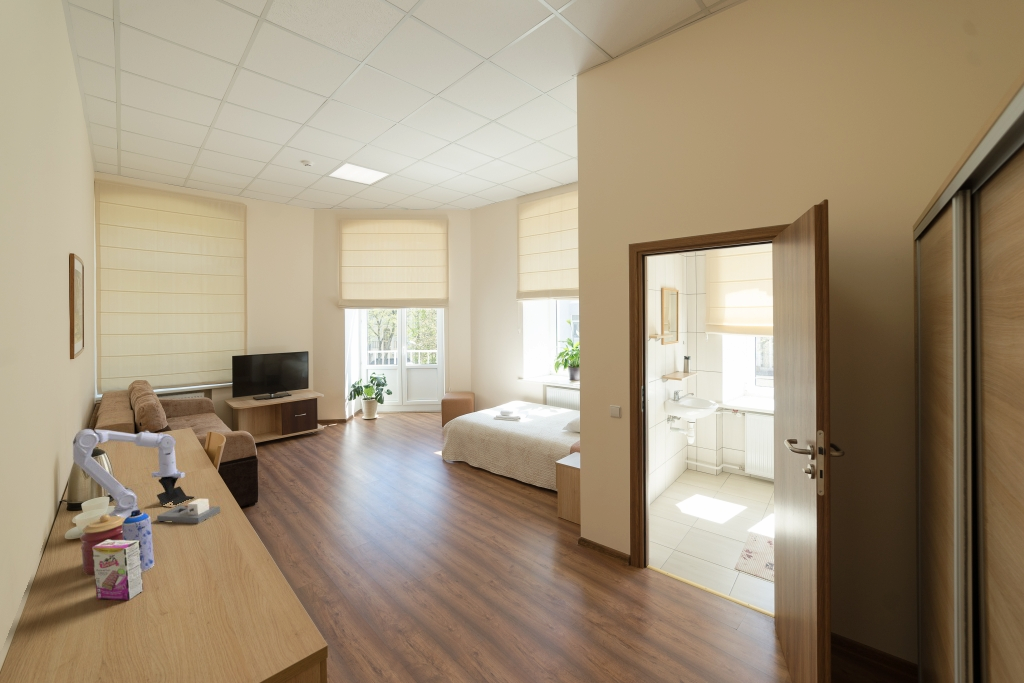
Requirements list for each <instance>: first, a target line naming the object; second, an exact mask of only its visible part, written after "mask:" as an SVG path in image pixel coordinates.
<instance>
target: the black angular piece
mask: <svg viewBox="0 0 1024 683" xmlns="http://www.w3.org/2000/svg"><path fill="white" fill-rule="evenodd" d="M156 497H157V499H158V500H159V502H160V504H161V505H162V506H163V505H165V504H167V503H169V502H172V501H173V502H172V503H173V505H177V504H179V503H182V502H184V501H186V500H189V499H192V498H194V497H195V496H191V495H190V496H189V495H187V494H185V492H184V490H183V488H182V487H181V486H177V487H176V486H175V487H174V491H173V493H171V494H169V495H167V494H166V492H165V491H164V492H163V491H162V492H161V493H158V494H156ZM194 499H195V498H194ZM192 500H193V499H192ZM182 504H183V503H182ZM170 505H171V504H170Z"/></svg>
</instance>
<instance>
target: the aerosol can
mask: <svg viewBox="0 0 1024 683" xmlns="http://www.w3.org/2000/svg"><path fill="white" fill-rule="evenodd" d="M151 518H152V517H151V516H150V515H149V514H147V513H146V512H145V513H144V512H141V510H140V509H138V510H134V511H132V512H131V515H130V516H129V517H127V518H126V519H125V520H124V521H123V522H122V532H123V540H137V541H139V546H140V559H141V571H142V573H144V572H143V571H145V572H147V571H149V570H151V569H153V568H154V567H153V566H155V565H154V564H156V563H155V557H154V545H153V534H152V533H153V532H152V519H151ZM150 568H151V569H150ZM148 569H149V570H148ZM146 570H147V571H146Z"/></svg>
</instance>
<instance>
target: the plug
mask: <svg viewBox="0 0 1024 683" xmlns="http://www.w3.org/2000/svg"><path fill="white" fill-rule="evenodd" d="M187 505H188V514H191V515H199V514H201V513H203V512H205V511H207V510H209V505H210V504H209V498H197V499H195V500H193V501H191V502H189V503H187Z"/></svg>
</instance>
